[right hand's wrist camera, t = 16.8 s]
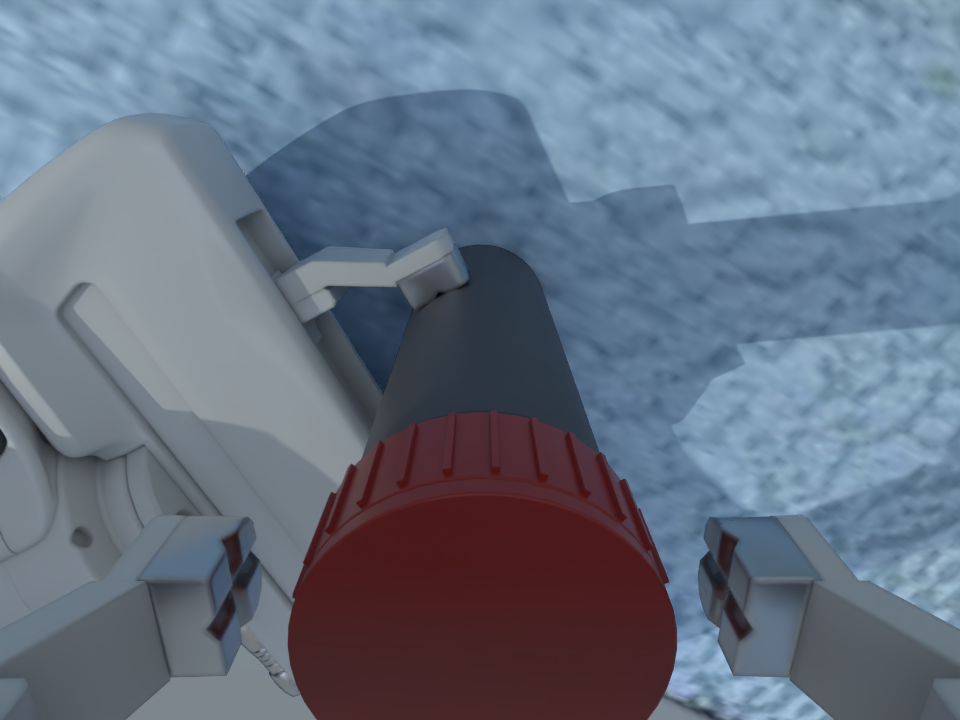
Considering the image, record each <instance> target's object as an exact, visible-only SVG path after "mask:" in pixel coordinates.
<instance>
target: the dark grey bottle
mask: <svg viewBox="0 0 960 720" xmlns="http://www.w3.org/2000/svg"><path fill="white" fill-rule="evenodd" d="M459 251H460V253H461V255H462V257H463V259H464V261H465V263H466V265H467V267H468V269H469V271H470V273H469V280H468V281H467V282H466V283H465V284H464V285H462V286H461V287H459V288H458V289H456V290H453V291H451V292H448V293H442V292H438V294H437V296H436V298H435V299H434V300H433V301H431V302H430V303H428V304H426V305H424V306H422V307H420V308H418V309H416V310H413V309H412V312H411V315H410V318H409V321H408V324H407V327H406V330H405V333H404V336H403V338H402V341H401V344H400V347H399V350H398V353H397V356H396V359H395V362H394V365H393V368H392V371H391V374H390V377H389V379H388V382H387V385H386V388H385V391H384V394H383V397H382V400H381V403H380V406H379V409H378V412H377V415H376V417H375V420H374V423H373V426H372V429H371V432H370V435H369V438H368V441H367V444H366V447H365V450H364V453H363V456H362V458H363V457H364V456H365V455H366V454H367V453H368V452H369V451H371V450H372V449H373V447H374V444H375V442H377V441H378V440H381V441H382V442H383V441H385V440H386V439H387V438H389V437H391V436H393V435H395V434H397V433H399V432H401V431H402V430H404V429H406V428H408V427H409V424H411V423H414V422H416V424H419V423H422V422H425V421H428V420H431V419H435V418H440V417H444V416H448V413H453V412H455V413H456V414H464V413H490V411H497V413H501V414H508V415H516V416H521V417H525V418H528V419H530V418H531V417H535V418H538V421H540V422H542V423H545V424H547V425H550V426H553V427H555V428H558V429H560V430H562V431H564V432H566V433H568V431H570V432H572V433H574V434H575V437H576V438H577V439H578V440H580V441H581V442H583V443H584V444H585V445H587V446H588V447H589V448H591V449H592V450H593V451H595V452H596V453H597V454H599V453H600V452H599V449H598V447H597V444H596V441H595V438H594V435H593V432H592V430H591V427H590V424H589V421H588V418H587V415H586V412H585V410H584V407H583V404H582V401H581V398H580V395H579V393H578V390H577V387H576V384H575V381H574V378H573V376H572V373H571V370H570V367H569V364H568V361H567V359H566V356H565V353H564V350H563V347H562V344H561V341H560V339H559V336H558V333H557V330H556V327H555V324H554V322H553V319H552V316H551V313H550V310H549V307H548V305H547V302H546V299H545V296H544V293H543V290H542V288H541V285H540V282H539V280H538V278H537V277H536V275H535V273H534V272H533V270H532V269H531V268H530V267H529V266H528V265H527V264H526V263H525V262H524V261H523V260H522V259H521V258H519V257H518V256H517V255H515V254H513V253H512V252H510V251H507V250H505V249H503V248H499V247H495V246H490V245H472V246H466V247H462V248H459ZM362 458H361V459H362Z"/></svg>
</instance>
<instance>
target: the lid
mask: <svg viewBox="0 0 960 720" xmlns="http://www.w3.org/2000/svg"><path fill="white" fill-rule="evenodd" d="M303 564H304V565H303V568H302V570H301V573H300V576H299V578H298V581H297V583H296V586H295V588H294V591H293V595H292V598H294V599H295V600H294V603H293V606H292V610H291V615H290V620H289V624H288V643H287V645H288V653H289V661H290V667H291V670H292V673H293V677H294V680H295V683H296V686H297V688H298V690H299V692H300V694H301V696H302V698H303V700H304V702H305V703H306V705H307V706H308V708H309V709H310V711H311V712H312V714H313V715H314V716H315V718H316V719H317V720H647V719H648V718H649V717H650V715H651V714H652V713H653V711H654V710H655V709H656V707H657V706H658V704H659V702H660V700H661V698H662V697H663V695H664V693H665V691H666V689H667V687H668V684H669V681H670V678H671V675H672V672H673V669H674V663H675V657H676V651H677V627H676V622H675V616H674V611H673V607H672V604H671V602H670V599H669V596H668V593H667V591H666V588H665V586H664V584H665V583H668V582H669V580H668V577H667V574H666V572H665V569H664V567H663V564H662V562H661V559H660V557H659V554H658V552H657V550H656V547H655V545H654V542H653V540H652V537H651V535H650V532H649V530H648V527H647V525H646V522H645V520H644V517H643V515H642V512H641V510H640V509H638V508H637V505H636V502H635V500H634V497H633V495H632V492H631V490H630V487H629V485H628V483H627V481H626V480H625V479H623V480H620V479H619V477H618V476H617V475H616V474H615V472H614V471H613V470H612V468H611V467H610V466H609V465H608V463H607V460H606V457H605V455H604V454H602V453H601V452H600V453H599V454H597V453H596V452H595V451H593V450H592V449H591V448H589V447H588V446H587V445H585V444H584V443H583V442H581V441H580V440H578V439H577V438H576V437H575V434H574V433H572V432H570V431H568V433H566V432H564V431H562V430H560V429H558V428H555V427H553V426H550V425H547V424H545V423H542V422H540V421H538V418H535V417H531V418H530V419H528V418H525V417H521V416H516V415H508V414H501V413H497V411H490V413H464V414H456V413H455V412H453V413H448V416H444V417H440V418H435V419H431V420H428V421H425V422H422V423H419V424H416V422H414V423H411V424H409V427H408V428H406V429H404V430H402V431H401V432H399V433H397V434H395V435H393V436H391V437H389V438H387V439H386V440H385V441H383V442H382V441H381V440H378V441H377V442H375V444H374V447H373V449H372V450H371V451H369V452H368V453H367V454H366V455H365V456H364V457H363V458H362V459H361V460H360V461H358V462H357V464H356V465H355V466H354V465H353V464H350V465H349V467H348V468H347V471H346V473H345V476H344V479H343V481H342V483H341V485H340V487H339V488H338V490H337V492H336V493H333V492H331V493H330V495H329V497H328V500H327V502H326V505H325V507H324V510H323V512H322V515H321V518H320V520H319V523H318V525H317V528H316V530H315V533H314V535H313V538H312V540H311V543H310V545H309V548H308V551H307V553H306V556H305V558H304V561H303Z"/></svg>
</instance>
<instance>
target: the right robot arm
mask: <svg viewBox="0 0 960 720" xmlns="http://www.w3.org/2000/svg"><path fill="white" fill-rule="evenodd" d="M255 540H256V533H255V528H254V523H253V521H252V520H251V519H250V518H249V517H239V516H192V515H190V516H186V515H160V516H157V517H154V518H152V519H151V520H150V521H149V523H148V524H147V525H146V526H145V528H144V529H143V530H142V531H141V532H140V534H139V535H138V536H137V537H136V539H135V540H134V541H133V542H132V543H131V545H130V546H129V547H128V548H127V550H126V551H125V552H124V553H123V554H122V556H121V557H120V558H119V559H118V561H117V562H116V563H115V564H114V565H113V567H112V568H111V569H110V570H109V572H108V573H107V574H106V575H105V576H104V578H103V579H102V580H101V581H90V582H88V583H86V584H84V585H82V586H81V587H79V588H77V589H75V590H73V591H71V592H69V593H67V594H65V595H64V596H62V597H60V598H58V599H56V600H54V601H52V602H50V603H49V604H47V605H45V606H43V607H41V608H39V609H37V610H35V611H34V612H32V613H30V614H28V615H26V616H24V617H22V618H20V619H18V620H17V621H15V622H13V623H11V624H9V625H7V626H5V627H3V628H2V629H0V720H126V719H127V718H128V717H129V716H130V715H131V714H133V713H134V712H135V711H136V710H137V709H138V708H139V707H141V706H142V705H143V704H144V703H145V702H146V701H147V700H149V699H150V698H151V697H152V696H153V695H154V694H155V693H156V692H158V691H159V690H160V689H161V688H162V687H163V686H164V685H166V684H167V683H168V682H169V681H170V677H198V676H226V675H227V674H228V671H229V669H230V667H231V665H232V663H233V660H234V658H235V656H236V654H237V652H238V650H239V647H240V645H241V643H242V636H241V630H240V628H241V627H242V626H244V625H245V624H246V623H248V622H249V621H250V620H252V618H253V616H254V614H255V611H256V609H257V607H258V603H259V598H260V593H261V588H262V571H261V564H260V560H259V559H258V558H257V557H256V556H255V555H254V554H253V553H252V552H251V551H250V550H251V548H252V546H253V544H254V542H255ZM704 540H705V542H706V544H707V546H708V548H709V550H710V551H709V552H708V553H707V554H706V555H705V556H704V557H703V558H702V559H701V560H700V564H699V572H698V585H699V595H700V599H701V603H702V607H703V609H704V611H705V614H706V616H707V618H708V620H710V621H711V622H712V623H714V624H715V625H716V626H718V627H719V628H720V630H719V636H718V643H719V645H720V647H721V649H722V652H723V654H724V656H725V658H726V660H727V663H728V665H729V667H730V669H731V671H732V673H733V676H760V677H790V681H791V682H792V683H794V684H795V685H796V686H797V687H798V688H799V689H800V690H802V691H803V692H804V693H805V694H806V695H807V696H808V697H809V698H811V699H812V700H813V701H814V702H815V703H816V704H817V705H819V706H820V707H821V708H822V709H823V710H824V711H825V712H826V713H828V714H829V715H830V716H831V717H832V718H833V719H834V720H960V629H958V628H956V627H954V626H953V625H951V624H949V623H947V622H945V621H943V620H941V619H939V618H938V617H936V616H934V615H932V614H930V613H928V612H926V611H924V610H923V609H921V608H919V607H917V606H915V605H913V604H911V603H909V602H908V601H906V600H904V599H902V598H900V597H898V596H896V595H894V594H893V593H891V592H889V591H887V590H885V589H883V588H881V587H879V586H878V585H876V584H874V583H872V582H870V581H859V580H858V579H857V578H856V577H855V575H854V574H853V573H852V572H851V570H850V569H849V568H848V567H847V566H846V564H845V563H844V562H843V561H842V559H841V558H840V557H839V556H838V555H837V553H836V552H835V551H834V550H833V548H832V547H831V546H830V545H829V544H828V542H827V541H826V540H825V539H824V537H823V536H822V535H821V534H820V533H819V531H818V530H817V529H816V528H815V526H814V525H813V524H812V523H811V522H810V520H809V519H808V518H806V517H804V516H802V515H784V516H770V517H709V519H708V522H707V524H706V526H705V532H704Z"/></svg>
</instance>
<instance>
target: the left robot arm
mask: <svg viewBox="0 0 960 720" xmlns="http://www.w3.org/2000/svg"><path fill="white" fill-rule="evenodd" d="M454 242H455V241H454V239H453V238H452V236H451V234H450V232H449V231H448V229H447V228H443V229H440V230H437V231H436V232H434V233H432V234H430V235H428V236H426V237H424V238H422V239H420V240H419V241H417V242H415V243H413V244H411V245H409V246H407V247H405V248H403V249H402V250H400V251H398V252H396V253H395V252H394V251H393V249H376V248H357V247H339V246H328V247H326V248H324V249H322V250H320V251H318V252H317V253H315V254H313V255H311V256H309V257H307V258H306V259H304V260H302V261H299V260H298V258H297V256H296V255H295V253H294V252H293V250H292V248H291V247H290V245H289V244H288V242H287V241H286V239H285V237H284V236H283V234H282V233H281V231H280V230H279V228H278V226H277V225H276V223H275V222H274V220H273V219H272V217H271V215H270V214H269V212H268V211H267V209H266V208H265V206H264V204H263V203H262V201H261V200H260V198H259V197H258V195H257V193H256V192H255V190H254V189H253V187H252V185H251V184H250V182H249V181H248V179H247V178H246V176H245V174H244V173H243V171H242V170H241V168H240V167H239V165H238V163H237V162H236V160H235V159H234V157H233V155H232V154H231V152H230V151H229V149H228V148H227V146H226V144H225V143H224V141H223V140H222V138H221V137H220V135H219V134H218V133H217V131H216V130H215V129H214V128H213V127H211V126H210V125H208V124H206V123H203V122H199V121H196V120H192V119H188V118H184V117H180V116H174V115H169V114H159V113H148V114H137V115H130V116H125V117H122V118H119V119H115V120H113V121H111V122H109V123H107V124H104V125H102V126H101V127H99V128H97V129H96V130H94V131H93V132H91V133H89V134H88V135H86V136H84V137H83V138H82V139H80V140H79V141H77V142H76V143H74V144H73V145H72V146H70V147H69V148H67V149H66V150H64V151H63V152H62V153H60V154H59V155H58V156H56V157H55V158H54V159H52V160H51V161H50V162H48V163H47V164H46V165H44V166H43V167H42V168H40V169H39V170H38V171H37V172H35V173H34V174H33V175H32V176H30V177H29V178H28V179H27V180H26V181H24V182H23V183H22V184H21V185H20V186H19V187H17V188H16V189H15V190H14V191H13V192H11V193H10V194H9V195H8V196H7V197H6V198H5V199H3V200H2V201H1V202H0V629H2V628H3V627H5V626H7V625H9V624H11V623H13V622H15V621H17V620H18V619H20V618H22V617H24V616H26V615H28V614H30V613H32V612H34V611H35V610H37V609H39V608H41V607H43V606H45V605H47V604H49V603H50V602H52V601H54V600H56V599H58V598H60V597H62V596H64V595H65V594H67V593H69V592H71V591H73V590H75V589H77V588H79V587H81V586H82V585H84V584H86V583H88V582H90V581H101V580H102V579H103V578H104V576H105V575H106V574H107V573H108V572H109V570H110V569H111V568H112V567H113V565H114V564H115V563H116V562H117V561H118V559H119V558H120V557H121V556H122V554H123V553H124V552H125V551H126V550H127V548H128V547H129V546H130V545H131V543H132V542H133V541H134V540H135V539H136V537H137V536H138V535H139V534H140V532H141V531H142V530H143V529H144V528H145V526H146V525H147V524H148V523H149V521H150V520H151V519H152V518H154V517H157V516H160V515H186V516H190V515H192V516H239V517H249V518H250V519H251V520H252V521H253V523H254V528H255V533H256V540H255V542H254V544H253V546H252V548H251V550H250V551H251V552H252V553H253V554H254V555H255V556H256V557H257V558H258V559H259V560H260V564H261V571H262V588H261V593H260V598H259V603H258V607H257V609H256V611H255V614H254V616H253V618H252V620H250V621H249V622H248V623H246V624H245V625H244V626H242V627H241V628H240V630H241V636H242V643H241V644H242V645H243V646H244V647H245V648H246V649H247V650H248V651H249V652H250V653H251V654H253V655H254V656H255V657H256V658H257V659H259V660H260V662H261V663H262V664H263V665H264V666H265V667H266V668H267V669H268V671H269V675H270V676H271V678H272V680H273V681H274V682H275V683H276V685H277V686H278V687H279V688H280V689H282V690H283V691H284V692H285V693H287V694H288V695H290V696H293V697H294V696H298V695H300V692H299V690H298V688H297V686H296V683H295V680H294V677H293V673H292V670H291V667H290V661H289V653H288V645H287V643H288V624H289V620H290V615H291V610H292V606H293V603H294V600H295V599H294V598H292V595H293V591H294V588H295V586H296V583H297V581H298V578H299V576H300V573H301V570H302V568H303V565H304V564H303V561H304V558H305V556H306V553H307V551H308V548H309V545H310V543H311V540H312V538H313V535H314V533H315V530H316V528H317V525H318V523H319V520H320V518H321V515H322V512H323V510H324V507H325V505H326V502H327V500H328V497H329V495H330V493H331V492H333V493H336V492H337V490H338V488H339V487H340V485H341V483H342V481H343V479H344V476H345V473H346V471H347V468H348V467H349V465H350V464H353V465H354V466H355V465H356V464H357V462H358V461H360V460H361V458H362V456H363V453H364V450H365V447H366V444H367V441H368V438H369V435H370V432H371V429H372V426H373V423H374V420H375V417H376V415H377V412H378V409H379V406H380V403H381V400H382V397H383V394H384V393H383V392H382V390H381V389H380V387H379V386H378V384H377V382H376V381H375V379H374V378H373V376H372V374H371V373H370V371H369V370H368V368H367V367H366V365H365V363H364V362H363V360H362V359H361V357H360V356H359V354H358V352H357V351H356V349H355V348H354V346H353V345H352V343H351V341H350V340H349V338H348V337H347V335H346V334H345V332H344V330H343V329H342V327H341V326H340V324H339V322H338V321H337V319H336V318H335V316H334V315H333V313H332V311H331V310H330V309H331V308H333V307H335V305H336V304H337V303H338V301H339V300H340V299H341V297H342V296H343V295H344V293H345V292H346V290H347V289H348V288H349V286H361V287H398V286H399V287H400V289H401V291H402V292H403V294H404V296H405V297H406V299H407V300H408V302H409V304H410V305H411V307H412V309H413V310H416V309H418V308H420V307H422V306H424V305H426V304H428V303H430V302H431V301H433V300H434V299H435V298H436V296H437V294H438V292H442V293H448V292H451V291H453V290H456V289H458V288H459V287H461V286H462V285H464V284H465V283H466V282H467V281H468V280H469V273H470V271H469V269H468V267H467V265H466V263H465V261H464V259H463V257H462V255H461V253H460V251H459V249H458V247H457V245H456V243H454Z"/></svg>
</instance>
